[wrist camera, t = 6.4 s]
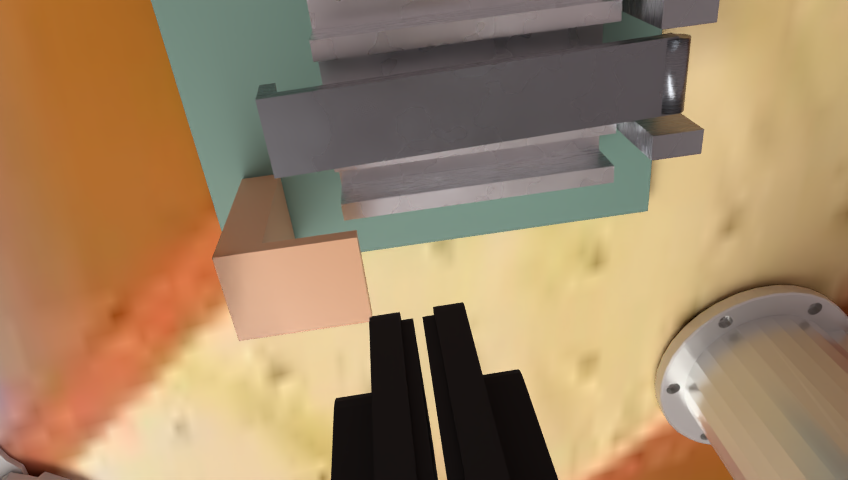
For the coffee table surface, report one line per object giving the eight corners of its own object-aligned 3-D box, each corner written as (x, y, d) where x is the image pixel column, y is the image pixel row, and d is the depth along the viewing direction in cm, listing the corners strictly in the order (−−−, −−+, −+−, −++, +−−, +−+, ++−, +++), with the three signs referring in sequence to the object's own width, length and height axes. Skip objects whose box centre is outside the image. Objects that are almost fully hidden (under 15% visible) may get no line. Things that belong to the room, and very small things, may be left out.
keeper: (356, 163, 30) (356, 237, 24) (368, 234, 32) (372, 321, 26) (242, 178, 30) (212, 258, 24) (261, 250, 32) (238, 340, 26)
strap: (668, 24, 25) (697, 35, 23) (662, 98, 26) (688, 114, 24) (259, 85, 23) (254, 101, 22) (277, 159, 25) (274, 181, 23)
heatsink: (647, -81, 26) (728, -72, 21) (633, 142, 31) (695, 198, 26) (303, -37, 26) (290, -16, 20) (345, 183, 31) (343, 249, 25)
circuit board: (668, -196, 25) (680, -199, 24) (640, 202, 34) (647, 210, 33) (119, -129, 25) (111, -130, 24) (236, 260, 34) (233, 270, 33)
